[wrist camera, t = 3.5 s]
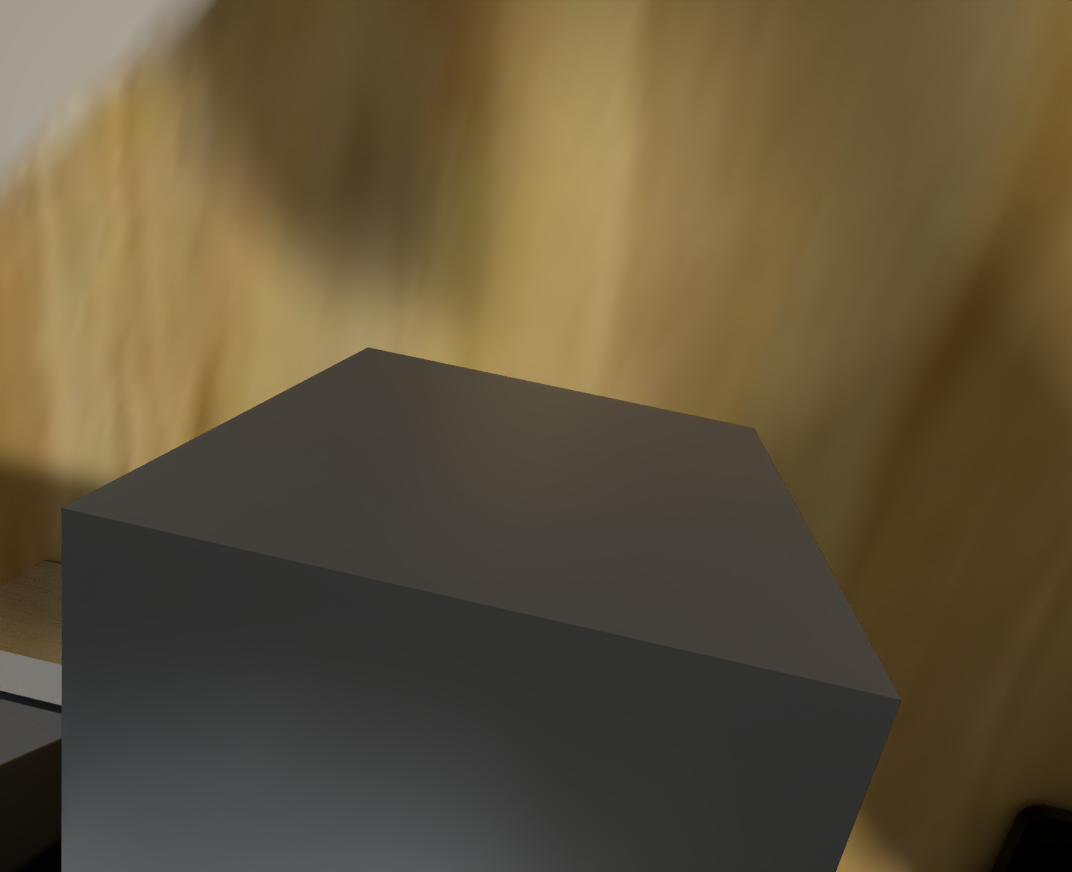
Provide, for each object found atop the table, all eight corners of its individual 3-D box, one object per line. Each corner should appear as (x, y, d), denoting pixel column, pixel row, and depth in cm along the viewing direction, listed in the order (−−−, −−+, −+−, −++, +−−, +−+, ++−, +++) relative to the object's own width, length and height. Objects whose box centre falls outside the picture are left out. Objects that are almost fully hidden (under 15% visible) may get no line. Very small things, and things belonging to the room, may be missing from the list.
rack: (736, 708, 18) (758, 818, 15) (638, 1033, 22) (638, 1184, 18) (44, 549, 20) (-78, 619, 16) (48, 881, 23) (-53, 996, 19)
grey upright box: (754, 428, 8) (900, 699, 3) (608, 948, 10) (586, 1520, 6) (368, 347, 8) (61, 509, 4) (304, 872, 10) (61, 1361, 6)
